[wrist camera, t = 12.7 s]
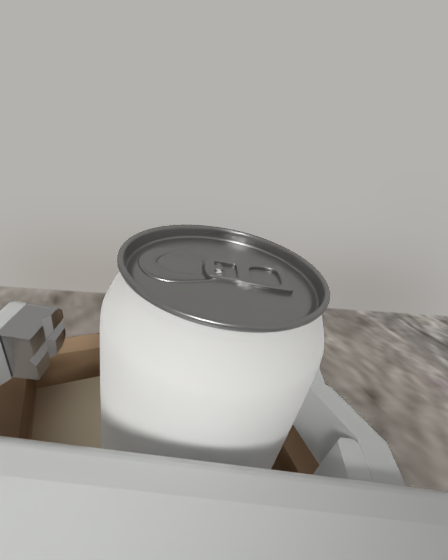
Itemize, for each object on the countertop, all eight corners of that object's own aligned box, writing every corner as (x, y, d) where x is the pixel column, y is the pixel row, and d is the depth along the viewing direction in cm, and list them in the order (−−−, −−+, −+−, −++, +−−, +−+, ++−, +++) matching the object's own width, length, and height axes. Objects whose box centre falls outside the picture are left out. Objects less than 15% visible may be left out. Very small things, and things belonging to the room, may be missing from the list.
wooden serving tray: (-165, 995, 6) (-276, 1096, 4) (-7, 370, 18) (-20, 332, 16) (373, 579, 13) (410, 556, 11) (227, 332, 24) (234, 303, 23)
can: (124, 420, 16) (133, 208, 10) (238, 429, 17) (305, 237, 11) (77, 587, 10) (38, 317, 5) (253, 588, 11) (405, 361, 5)
